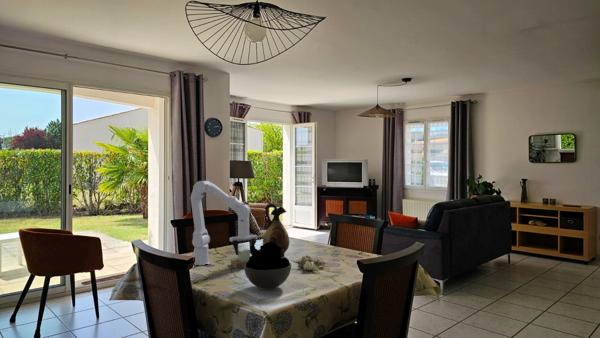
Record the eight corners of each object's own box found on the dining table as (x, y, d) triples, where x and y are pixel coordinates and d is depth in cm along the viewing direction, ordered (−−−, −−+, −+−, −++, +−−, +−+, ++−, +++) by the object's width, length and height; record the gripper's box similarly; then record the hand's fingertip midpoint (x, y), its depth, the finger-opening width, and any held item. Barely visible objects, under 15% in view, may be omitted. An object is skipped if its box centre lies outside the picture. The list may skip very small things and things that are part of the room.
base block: (230, 264, 213) (230, 258, 213) (250, 262, 217) (250, 256, 217) (236, 269, 203) (236, 263, 203) (257, 266, 208) (257, 260, 208)
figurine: (326, 254, 212) (335, 262, 195) (325, 266, 212) (334, 274, 195) (288, 254, 208) (294, 262, 191) (288, 265, 208) (294, 274, 191)
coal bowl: (291, 280, 181) (291, 239, 181) (291, 295, 161) (291, 248, 161) (246, 281, 181) (246, 239, 181) (241, 296, 161) (241, 249, 161)
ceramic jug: (291, 252, 240) (290, 202, 239) (287, 258, 224) (287, 205, 224) (262, 252, 241) (262, 202, 241) (257, 258, 226) (257, 204, 226)
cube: (237, 259, 211) (237, 249, 211) (247, 258, 213) (247, 248, 213) (240, 261, 207) (240, 251, 207) (250, 260, 209) (249, 250, 209)
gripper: (232, 230, 203) (232, 257, 203) (259, 228, 210) (259, 254, 210) (228, 228, 210) (228, 254, 210) (254, 226, 216) (255, 251, 216)
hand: (243, 254), depth 210 cm, fingers open, 7 cm apart
